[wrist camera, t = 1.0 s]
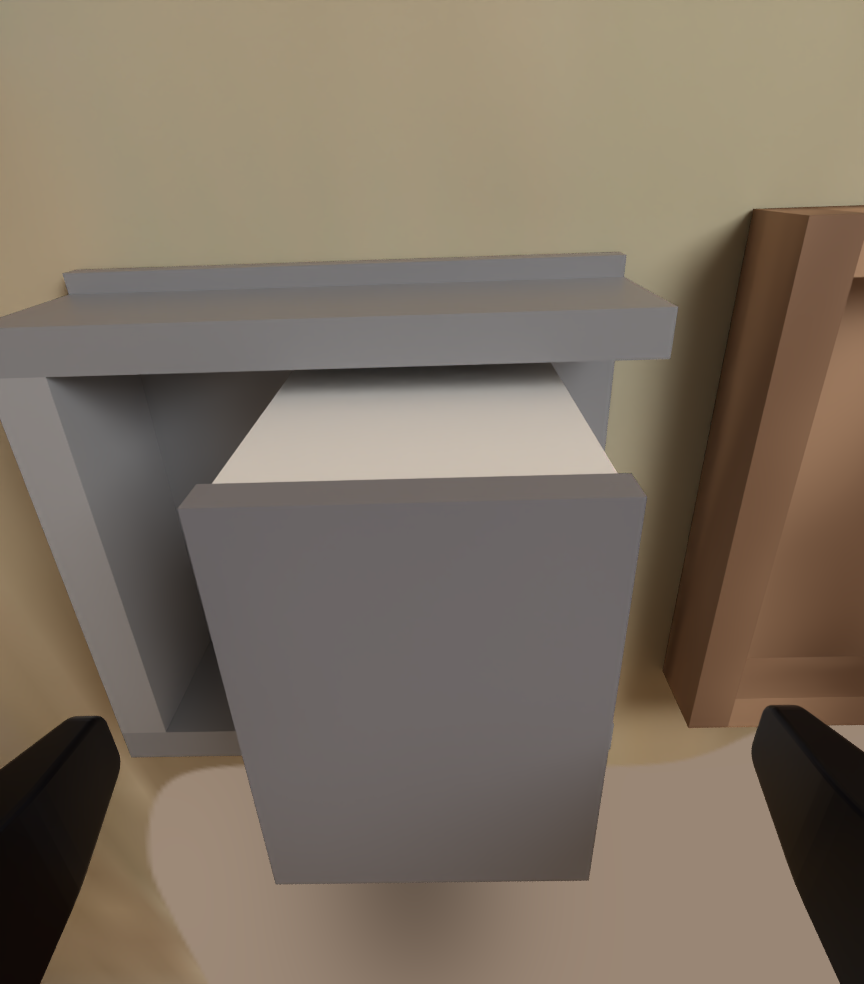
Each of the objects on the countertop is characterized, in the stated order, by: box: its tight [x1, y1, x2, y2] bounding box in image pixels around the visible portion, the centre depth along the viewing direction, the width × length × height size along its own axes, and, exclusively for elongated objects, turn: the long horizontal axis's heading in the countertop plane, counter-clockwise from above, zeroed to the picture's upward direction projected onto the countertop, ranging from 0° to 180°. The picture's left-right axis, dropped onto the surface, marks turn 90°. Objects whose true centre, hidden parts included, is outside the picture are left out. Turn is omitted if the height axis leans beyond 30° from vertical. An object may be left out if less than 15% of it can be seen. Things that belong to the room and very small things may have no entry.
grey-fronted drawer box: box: [178, 362, 647, 884], centre depth 11 cm, size 5×7×7 cm
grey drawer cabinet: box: [0, 252, 678, 757], centre depth 13 cm, size 11×11×4 cm
